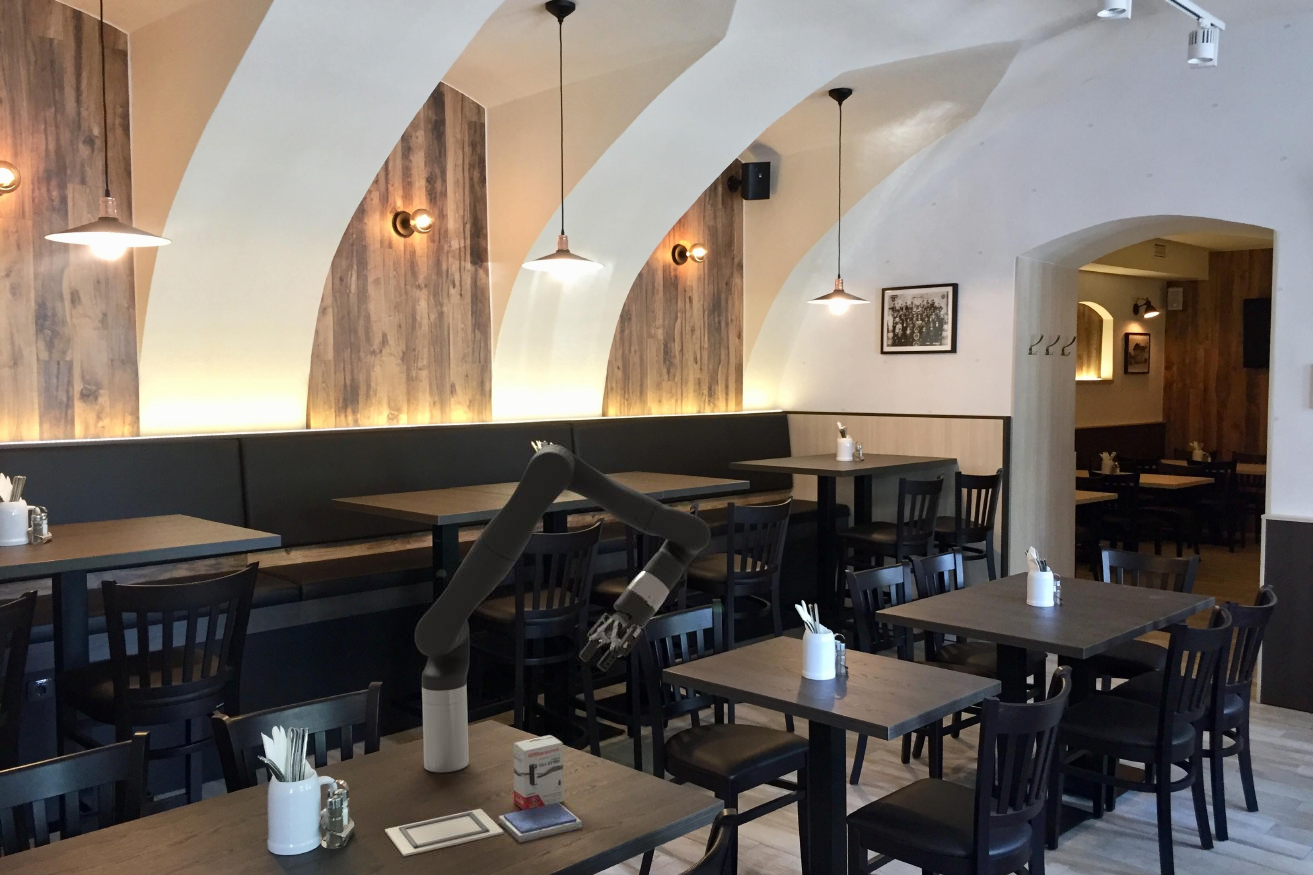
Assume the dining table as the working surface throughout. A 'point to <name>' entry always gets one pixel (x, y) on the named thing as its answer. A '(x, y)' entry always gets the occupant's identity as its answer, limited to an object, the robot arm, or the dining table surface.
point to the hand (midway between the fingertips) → (591, 664)
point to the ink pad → (539, 822)
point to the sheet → (443, 832)
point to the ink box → (538, 772)
